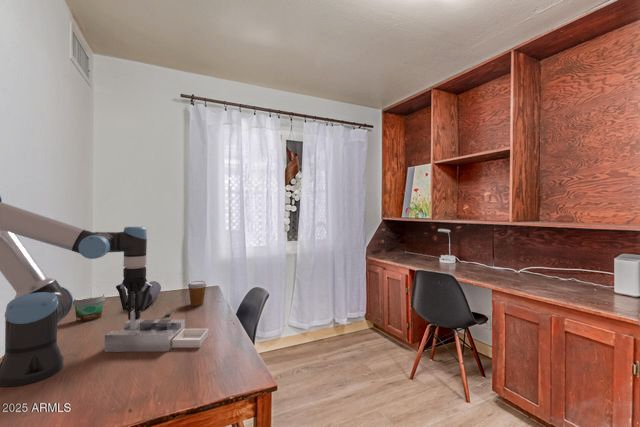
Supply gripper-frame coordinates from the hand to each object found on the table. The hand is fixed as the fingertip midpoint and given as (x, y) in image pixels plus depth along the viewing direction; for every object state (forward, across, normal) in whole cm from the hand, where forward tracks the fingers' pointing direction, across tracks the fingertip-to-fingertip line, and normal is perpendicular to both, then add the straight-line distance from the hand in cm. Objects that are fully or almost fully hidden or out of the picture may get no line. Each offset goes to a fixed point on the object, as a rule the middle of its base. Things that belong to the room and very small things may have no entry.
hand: (134, 327), depth 117 cm
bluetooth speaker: (+6, +19, -51) cm, 55 cm away
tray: (+6, -22, 0) cm, 22 cm away
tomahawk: (+6, +1, -20) cm, 21 cm away
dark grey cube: (+2, -11, 0) cm, 11 cm away
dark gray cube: (+2, -5, 0) cm, 5 cm away
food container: (+6, +32, -25) cm, 41 cm away
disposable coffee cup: (+6, -8, -48) cm, 49 cm away
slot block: (+6, -5, 0) cm, 8 cm away
